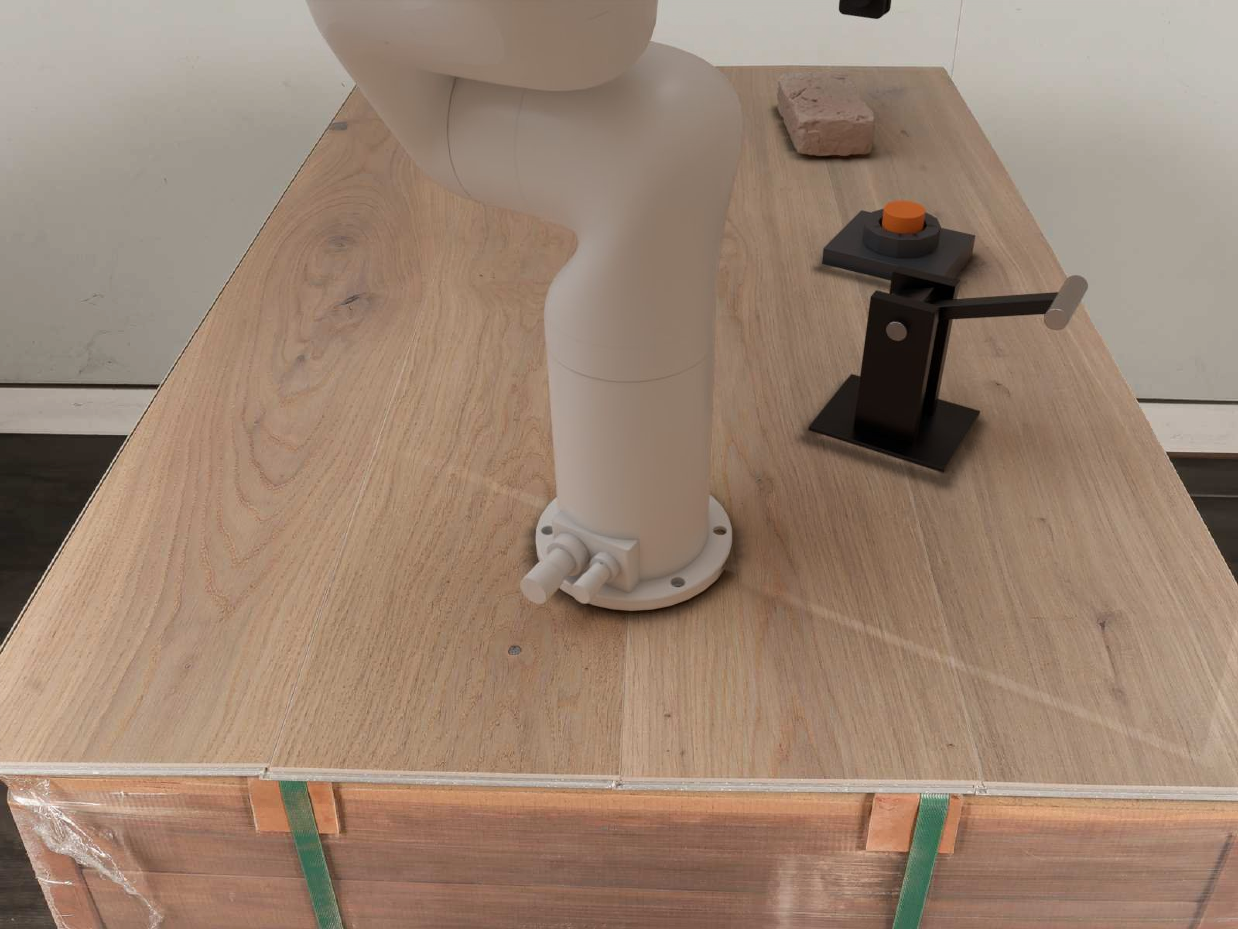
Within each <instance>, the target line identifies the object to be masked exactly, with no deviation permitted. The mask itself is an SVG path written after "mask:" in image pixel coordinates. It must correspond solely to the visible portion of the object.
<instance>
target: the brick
mask: <svg viewBox="0 0 1238 929" xmlns="http://www.w3.org/2000/svg"><path fill="white" fill-rule="evenodd" d="M777 85H778V86H777V93H776V97H777V110H778V114H779V115H780V117H781V118H783V124H784V126H785V127H786V131H787V132H788V135H789V137H790V140H791V142H792V144H793V147H794V149H795V150H796V153H798V154H803V155H808V156H816V157H828V156H842V157H847V156H850V155H854V156H855V155H867V154H870V153H871V152H872V150H873V146H874V137H875V136H874V132H875V127H876V119H875V116H876V115H875V113H874V111H873V110H872V109H871V107H870V106H869V105H867V103H866V102H865V101H864V100H862V96H861V94H860V92H859V90H858V89H857V86H856V85H855V82H854V81H853V80H852V78H851V77H850V76H849V74H848V73H846V72H843V71H835V70H819V71H817V72H816V71H806V72H804V71H800V72H793V73H783V74H780V77H779V78H778V79H777Z"/></svg>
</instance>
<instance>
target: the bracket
mask: <svg viewBox="0 0 1238 929" xmlns="http://www.w3.org/2000/svg"><path fill="white" fill-rule="evenodd" d="M960 284H961V280H960V279H956V278H955V279H953V278H948V277H944V276H940V275H936V274H932V273H927V272H923V271H919V270H915V269H911V268H906V267H902V266H897V267H896V268H895V269H894V270H893V271H892V278H891V281H890V286H889V292H885V291H881V290H877V289H876V290H874V292H873V293H872V294H871V295H870V298H869V306H868V307H869V308H868V313H867V322H866V328H865V329H866V330H865V338H864V344H863V350H862V359H861V367H860V374H859V375H858V374H854V373H851V374H850V375H849V376H848V377H847V379H846V380H845V381H844V382H843V384H842V385H841V386H840V387H839V388H838V390H837V391H836V392H835V394H833V396H832V397H831V398H830V400H829V401H828V402H827V403H826V404H825V406H824V407H823V408H822V409H821V411H820V412H819V413H818V414H817V416H815V418H814V419H813V420H812V422H811V423H810V424H809V425H808V428H807V431H810V432H814V433H816V434H818V435H819V434H820V435H823V436H826V437H828V438H832V439H834V440H835V439H836V440H838V441H842V442H844V443H849V444H851V445H855V446H858V447H860V448H864V449H866V450H870V451H873V452H876V453H880V454H883V455H886V456H889V457H892V458H895V459H898V460H901V461H904V462H908V463H911V464H915V465H918V466H921V467H924V468H926V469H931V470H934V471H936V472H940V473H945V472H946V470H947V469H948V467H949V466H950V463H951V462H952V460H953V459H954V458H955V456H956V454H957V452H958V451H959V450H960V448H961V446H962V444H963V443H964V441H965V439H966V438H967V437H968V435H969V433H970V431H971V430H972V428H973V426H974V425H975V423H976V421H977V420H978V418H979V417H980V414H981V410H978V409H975V408H971V407H969V406H964V405H961V404H958V403H955V402H951V401H947V400H944V399H940V398H939V396H940V390H941V386H942V380H943V375H944V370H945V364H946V358H947V354H948V349H949V342H950V339H951V338H950V337H951V332H952V326H953V321H954V319H950V320H939V322H938V317H939V311H940V306H937V305H933V304H929V303H925V302H921V301H917V300H913V299H909V298H905V297H901V296H897V295H893V294H892V293H893V292H894V291H895V290H907V289H920V288H934V290H935V295H936V300H948V299H958V293H959V288H960Z"/></svg>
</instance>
